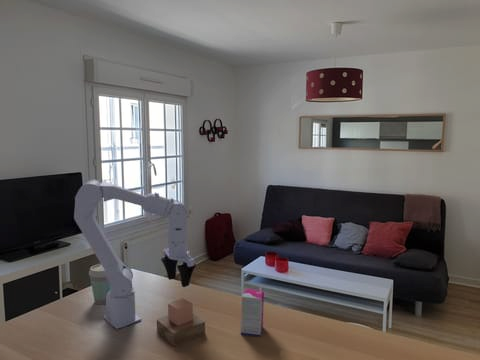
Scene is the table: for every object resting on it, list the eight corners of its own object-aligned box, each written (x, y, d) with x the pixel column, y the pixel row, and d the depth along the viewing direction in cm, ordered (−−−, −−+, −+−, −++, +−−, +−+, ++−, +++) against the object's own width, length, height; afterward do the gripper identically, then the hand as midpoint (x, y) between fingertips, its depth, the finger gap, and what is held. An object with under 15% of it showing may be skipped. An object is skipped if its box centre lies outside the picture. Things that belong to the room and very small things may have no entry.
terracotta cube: (168, 319, 110) (167, 303, 109) (182, 314, 113) (182, 298, 113) (178, 326, 106) (177, 309, 106) (192, 319, 110) (192, 303, 109)
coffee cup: (106, 293, 136) (105, 261, 134) (122, 299, 131) (120, 266, 129) (85, 302, 129) (83, 268, 127) (100, 309, 124) (98, 273, 122)
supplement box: (261, 337, 108) (261, 298, 106) (240, 334, 109) (240, 296, 107) (263, 326, 113) (264, 289, 112) (244, 324, 114) (244, 288, 113)
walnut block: (157, 332, 111) (156, 319, 110) (186, 321, 117) (186, 309, 117) (174, 347, 103) (174, 333, 103) (205, 334, 109) (204, 321, 109)
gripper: (202, 242, 115) (202, 285, 117) (175, 233, 126) (176, 272, 128) (182, 247, 110) (183, 292, 112) (156, 237, 121) (158, 278, 123)
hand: (178, 282), depth 120 cm, fingers open, 7 cm apart
